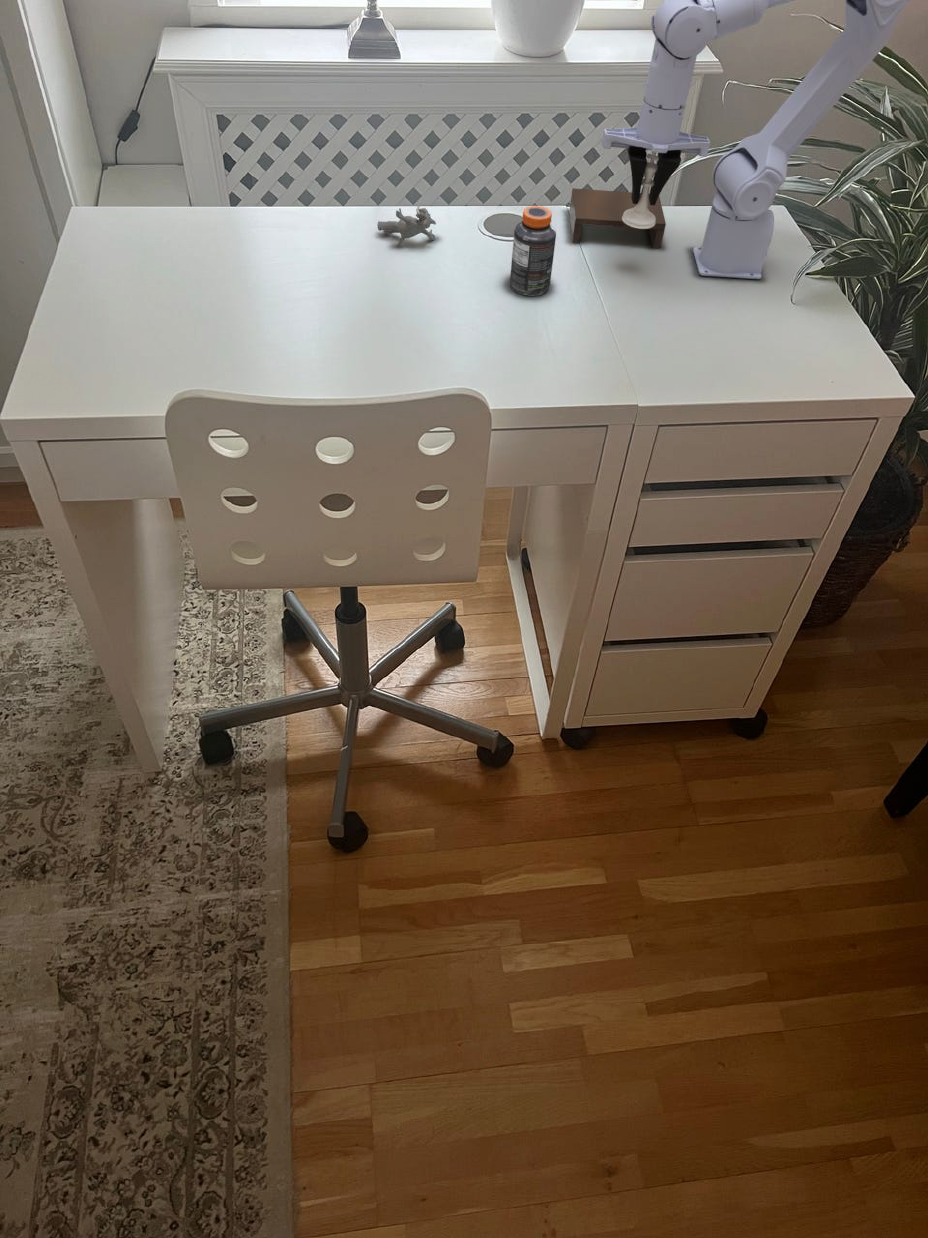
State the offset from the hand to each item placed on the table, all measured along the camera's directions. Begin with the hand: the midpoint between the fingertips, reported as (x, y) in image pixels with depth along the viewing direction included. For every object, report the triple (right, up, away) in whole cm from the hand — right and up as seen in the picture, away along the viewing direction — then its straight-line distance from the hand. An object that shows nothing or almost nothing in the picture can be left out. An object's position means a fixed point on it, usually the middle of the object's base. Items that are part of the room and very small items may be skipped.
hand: (643, 201), depth 139 cm
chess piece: (0, -2, +2) cm, 3 cm away
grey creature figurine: (-35, -3, +9) cm, 36 cm away
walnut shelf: (-2, +2, +16) cm, 16 cm away
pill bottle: (-16, -11, +3) cm, 20 cm away
